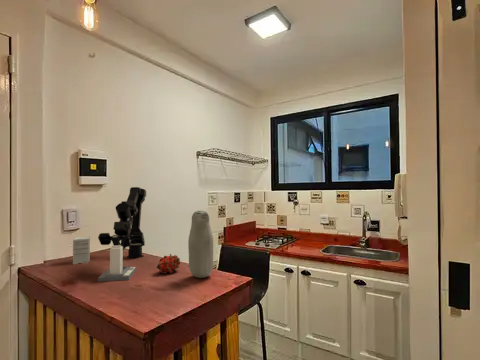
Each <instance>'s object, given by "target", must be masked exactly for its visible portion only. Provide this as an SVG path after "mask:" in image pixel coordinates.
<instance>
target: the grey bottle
mask: <svg viewBox="0 0 480 360" xmlns="http://www.w3.org/2000/svg"><path fill="white" fill-rule="evenodd" d="M190 225H191V226H190V230H189V235H188V241H187V242H188V243H187V244H188V246H187V247H188V248H187V249H188V269H189V272H190V273H191V275H192V276H193V277H195V278H198V279H205V278H207V277H209V276H210V275H211V273H212V271H213V268H214V236H213V232H212V229H211V224H210V215H209V213H208V212H207V211H205V210H196V211H194V212H193V213H192V215H191V223H190Z"/></svg>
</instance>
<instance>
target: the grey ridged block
mask: <svg viewBox="0 0 480 360" xmlns="http://www.w3.org/2000/svg"><path fill="white" fill-rule="evenodd" d="M90 252H91V237H90V236H80V237H79V236H77V237H74V238H73V240H72V265H79V264H78V263H82V264H89V263H88V262H90V261H91V258H90V257H91V253H90Z"/></svg>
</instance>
